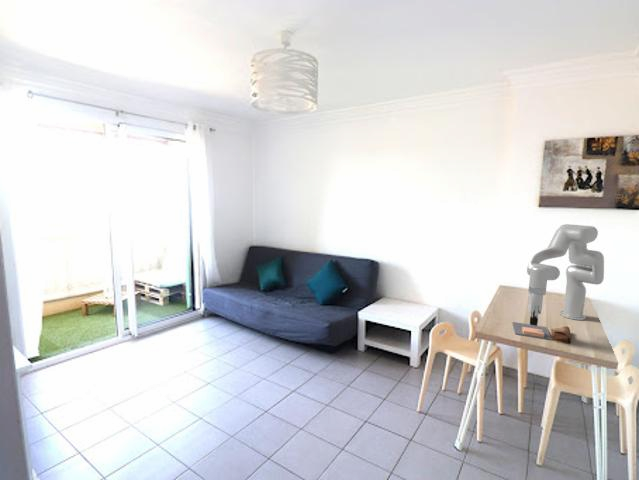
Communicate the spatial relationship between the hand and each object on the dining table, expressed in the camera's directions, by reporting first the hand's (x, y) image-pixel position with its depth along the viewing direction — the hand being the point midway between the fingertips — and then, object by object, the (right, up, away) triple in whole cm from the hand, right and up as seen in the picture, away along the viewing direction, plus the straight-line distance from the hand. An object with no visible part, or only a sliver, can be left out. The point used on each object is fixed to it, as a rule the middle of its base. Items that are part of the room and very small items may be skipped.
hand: (533, 324), depth 173 cm
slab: (+1, -4, +3) cm, 5 cm away
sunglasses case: (+14, -7, -1) cm, 15 cm away
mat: (+2, -5, +5) cm, 7 cm away
